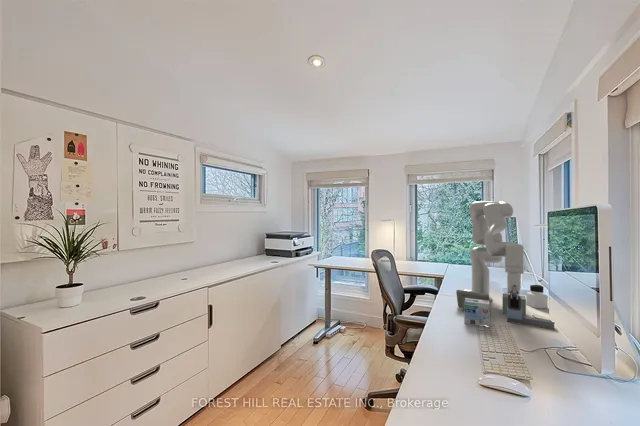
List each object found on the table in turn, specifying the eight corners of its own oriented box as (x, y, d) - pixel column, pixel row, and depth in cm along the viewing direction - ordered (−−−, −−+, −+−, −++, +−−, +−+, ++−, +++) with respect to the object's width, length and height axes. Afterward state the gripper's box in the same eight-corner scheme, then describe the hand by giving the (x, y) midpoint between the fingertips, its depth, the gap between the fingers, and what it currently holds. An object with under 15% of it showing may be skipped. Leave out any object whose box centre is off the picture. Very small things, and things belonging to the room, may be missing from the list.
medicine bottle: (547, 308, 163) (547, 286, 163) (534, 308, 163) (534, 286, 164) (538, 304, 170) (538, 283, 171) (526, 304, 171) (526, 283, 171)
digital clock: (492, 313, 155) (492, 293, 155) (484, 317, 149) (484, 296, 149) (461, 306, 168) (461, 287, 168) (453, 309, 162) (453, 289, 162)
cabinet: (502, 314, 154) (502, 296, 154) (502, 309, 160) (502, 293, 160) (526, 317, 148) (525, 299, 148) (525, 313, 155) (525, 296, 155)
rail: (506, 321, 143) (506, 315, 143) (507, 319, 146) (506, 313, 146) (554, 329, 133) (554, 323, 133) (553, 326, 136) (553, 320, 136)
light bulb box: (464, 323, 140) (464, 300, 140) (464, 319, 146) (464, 297, 146) (490, 327, 135) (490, 304, 135) (489, 323, 141) (489, 300, 141)
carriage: (506, 317, 141) (506, 297, 141) (507, 313, 147) (507, 293, 147) (522, 320, 138) (522, 299, 138) (521, 316, 144) (521, 295, 144)
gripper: (505, 266, 152) (505, 299, 152) (504, 271, 137) (504, 308, 137) (522, 267, 148) (523, 301, 148) (524, 273, 133) (524, 311, 133)
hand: (514, 304), depth 143 cm, fingers open, 9 cm apart
